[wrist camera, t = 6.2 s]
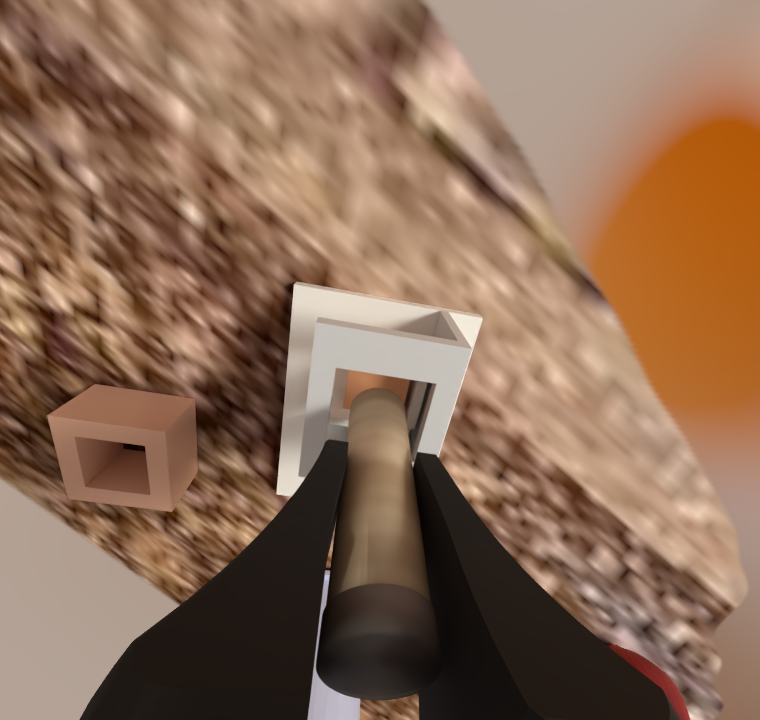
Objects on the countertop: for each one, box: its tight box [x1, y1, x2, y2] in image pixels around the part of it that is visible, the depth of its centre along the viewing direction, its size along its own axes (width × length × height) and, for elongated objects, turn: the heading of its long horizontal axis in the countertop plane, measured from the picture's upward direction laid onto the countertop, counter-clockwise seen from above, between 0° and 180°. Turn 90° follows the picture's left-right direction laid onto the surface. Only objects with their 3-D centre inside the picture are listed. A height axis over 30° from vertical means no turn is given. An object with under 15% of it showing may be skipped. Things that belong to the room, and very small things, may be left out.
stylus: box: [316, 388, 443, 700], centre depth 10 cm, size 2×2×8 cm
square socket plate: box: [277, 282, 483, 496], centre depth 17 cm, size 13×9×5 cm
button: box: [343, 370, 410, 409], centre depth 17 cm, size 3×3×2 cm
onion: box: [608, 644, 690, 720], centre depth 26 cm, size 6×6×8 cm
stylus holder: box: [47, 384, 198, 512], centre depth 19 cm, size 5×5×3 cm
